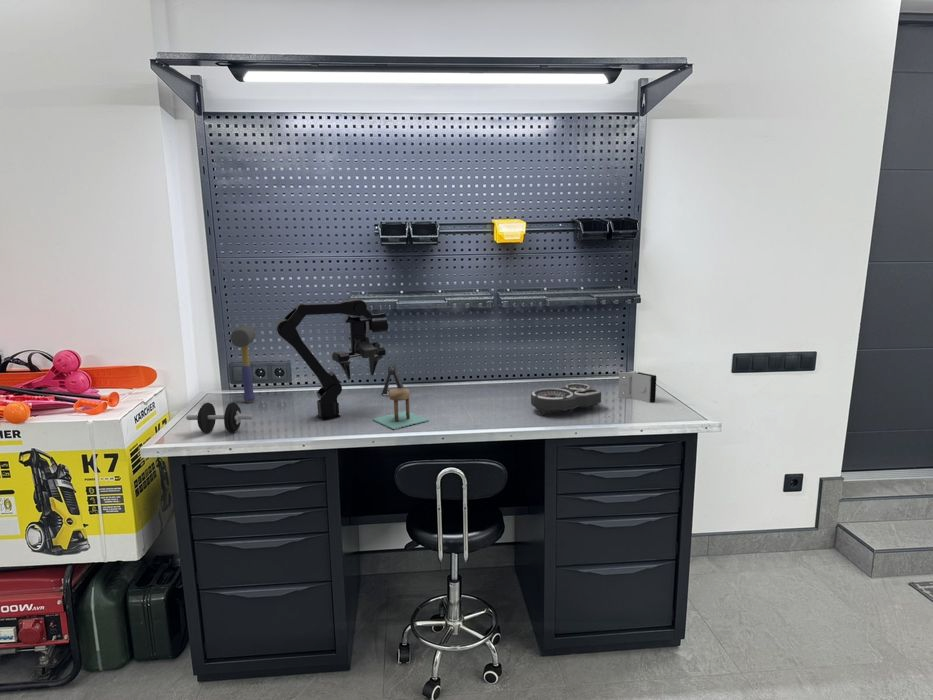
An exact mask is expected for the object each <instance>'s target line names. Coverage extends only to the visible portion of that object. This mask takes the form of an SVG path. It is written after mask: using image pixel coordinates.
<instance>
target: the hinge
mask: <svg viewBox="0 0 933 700" xmlns="http://www.w3.org/2000/svg"><path fill="white" fill-rule="evenodd" d="M623 377H624V378H623ZM656 387H657V376H656V374H652V373H645V372H643V371H638V372H637V371H633V370H631V371H629V372H628V371H627V372H626V371H625V372H624V371H619V372H618V393H617V394H618V395H617V397H618V399H633V400H636V401H641V402H645V403H649V404H650V403H651V404H653V403H656V397H657V395H656V393H657V392H656V391H657V388H656Z"/></svg>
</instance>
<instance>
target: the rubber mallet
mask: <svg viewBox="0 0 933 700" xmlns="http://www.w3.org/2000/svg"><path fill="white" fill-rule="evenodd" d="M256 335H257V334H256V329H255V328H254V327H253V326H252V325H249V324H245V325H240V326H238V327H237V328H235V329H234V330H233V331H232V332H231V334H230V342H231V343H232V345H234V346H235V347H237V348H241V349H240V350H241V359H242V366H241V379H242V383H243V392H244V393H243V400H244V402H246V403H247V404H248V403H250V404H251V403H252V402H254V401H255V394H254V388H253V387H254V386H253V376H254V375H253V371H252V366H251V363H250V355H249V354H250V353H249V345H250V344H251V343H252V342H253V341H254V340H255V339H256Z"/></svg>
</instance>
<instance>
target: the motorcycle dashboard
mask: <svg viewBox="0 0 933 700" xmlns="http://www.w3.org/2000/svg"><path fill="white" fill-rule="evenodd" d="M601 402H602V391H601V390H599V389H598V388H594V387H591V386H590V385H588V384H586V383H579V382H577V383H576V382H574V383H568V384H566V385H565V386H564V387H543V388H538V389H536V390H534V391H532V392H531V394H530V405H531V406H533V407H534V408H535V410H537V411H540V412H541V413H540V414H542V417H545V415H546V414H548V413H550V414H554V413H560V412H564V411H568V410H569V411H570V412H573V410H574V409H576V408H589V407H592V408H593V406H598V405H599V404H601Z"/></svg>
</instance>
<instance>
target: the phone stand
mask: <svg viewBox="0 0 933 700" xmlns="http://www.w3.org/2000/svg"><path fill="white" fill-rule="evenodd" d="M392 368H394V369H392ZM392 376H393V378H394V381H395V383H396V387H397V388H396V389H399V388H403V389H405V387H404V384H403V382H402V380H401V377H400V375H399V372H398V366H397V364H396V363H395V362H394V363H390V364H389V366H388V368H387V377H386V380H385V383H384V386H383V389H382V393H381V396H382V395H383V394H387V391H389V386H390V381H391V377H392Z"/></svg>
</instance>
